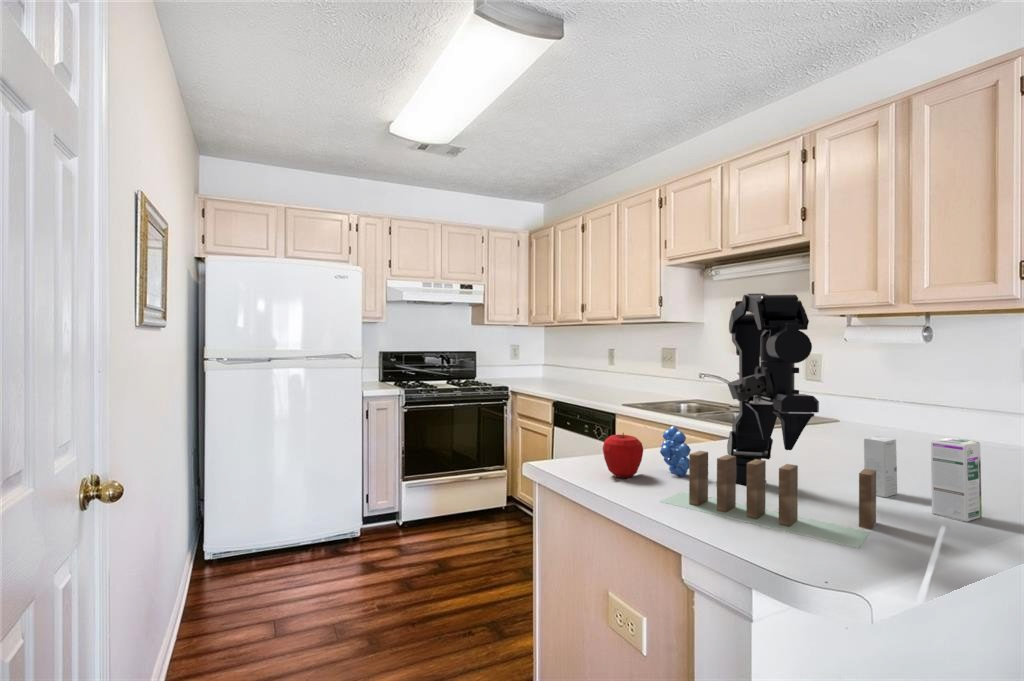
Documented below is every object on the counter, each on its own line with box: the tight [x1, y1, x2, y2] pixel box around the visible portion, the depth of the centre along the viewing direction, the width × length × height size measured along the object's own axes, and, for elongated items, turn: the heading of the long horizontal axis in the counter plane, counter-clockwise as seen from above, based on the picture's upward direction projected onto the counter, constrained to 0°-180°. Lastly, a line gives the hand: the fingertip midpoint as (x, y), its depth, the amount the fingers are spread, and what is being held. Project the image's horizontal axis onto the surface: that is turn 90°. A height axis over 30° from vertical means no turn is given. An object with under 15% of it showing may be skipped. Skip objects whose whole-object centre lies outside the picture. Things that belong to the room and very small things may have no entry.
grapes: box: [659, 425, 692, 477], centre depth 128 cm, size 12×7×12 cm, turn 11°
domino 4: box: [778, 463, 799, 527], centre depth 93 cm, size 2×5×10 cm, turn 137°
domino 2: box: [716, 454, 737, 513], centre depth 100 cm, size 2×5×10 cm, turn 137°
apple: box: [602, 432, 644, 479], centre depth 126 cm, size 10×10×11 cm
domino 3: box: [746, 459, 767, 520], centre depth 97 cm, size 2×5×10 cm, turn 137°
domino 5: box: [858, 468, 877, 530], centre depth 92 cm, size 2×5×10 cm, turn 137°
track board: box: [659, 491, 871, 549], centre depth 97 cm, size 10×34×1 cm, turn 47°
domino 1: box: [688, 450, 709, 506], centre depth 104 cm, size 2×5×10 cm, turn 137°
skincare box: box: [863, 436, 898, 498], centre depth 114 cm, size 6×4×12 cm
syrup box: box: [930, 437, 983, 523], centre depth 99 cm, size 6×6×14 cm
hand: (776, 444), depth 97 cm, fingers open, 9 cm apart
